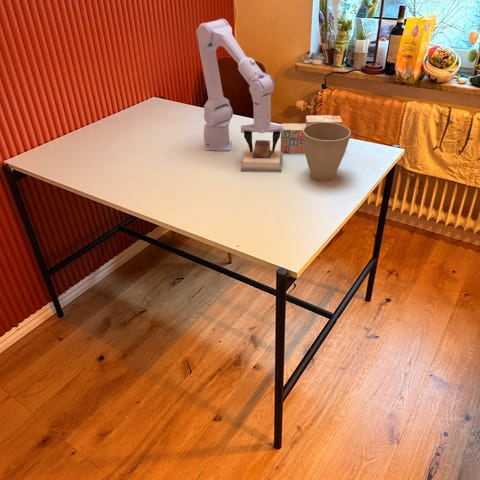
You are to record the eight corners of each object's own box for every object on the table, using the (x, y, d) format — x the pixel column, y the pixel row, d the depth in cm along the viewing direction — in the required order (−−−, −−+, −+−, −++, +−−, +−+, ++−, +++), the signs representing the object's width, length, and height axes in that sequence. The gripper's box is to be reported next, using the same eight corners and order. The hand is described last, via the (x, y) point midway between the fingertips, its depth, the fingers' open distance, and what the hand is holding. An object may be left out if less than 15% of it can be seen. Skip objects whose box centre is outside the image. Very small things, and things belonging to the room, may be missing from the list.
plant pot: (317, 191, 143) (321, 144, 134) (292, 172, 154) (293, 127, 144) (354, 179, 148) (360, 133, 139) (327, 161, 159) (331, 118, 150)
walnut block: (254, 161, 158) (254, 146, 155) (256, 155, 162) (255, 140, 159) (268, 162, 158) (269, 146, 154) (269, 155, 162) (269, 140, 158)
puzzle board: (240, 171, 156) (240, 162, 154) (244, 153, 167) (244, 145, 165) (281, 172, 154) (281, 163, 152) (282, 154, 165) (282, 146, 163)
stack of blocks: (280, 153, 166) (281, 121, 159) (280, 146, 171) (281, 115, 164) (339, 153, 164) (342, 121, 157) (337, 146, 169) (340, 115, 162)
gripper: (239, 118, 147) (240, 156, 155) (283, 118, 146) (282, 156, 154) (241, 110, 153) (242, 147, 161) (284, 110, 152) (283, 148, 160)
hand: (262, 151), depth 158 cm, fingers open, 7 cm apart
